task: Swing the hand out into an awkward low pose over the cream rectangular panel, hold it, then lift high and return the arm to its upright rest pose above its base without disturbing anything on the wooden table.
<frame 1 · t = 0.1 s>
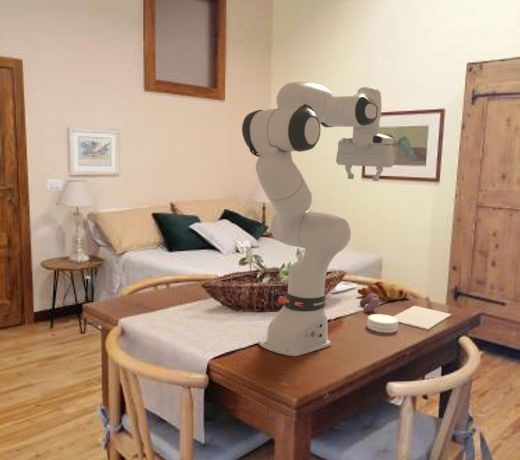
hand: (362, 179, 173), 48 cm above the table, tool pointing down, fingers open, 8 cm apart
croissant: (383, 298, 206), on the table
cream rectangular panel: (420, 317, 182), on the table
coaster: (382, 329, 170), on the table
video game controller: (369, 309, 190), on the table
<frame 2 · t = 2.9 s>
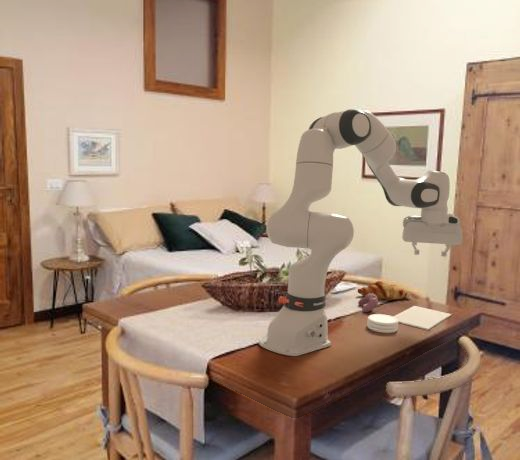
hand: (430, 255, 183), 22 cm above the table, tool pointing down, fingers open, 8 cm apart
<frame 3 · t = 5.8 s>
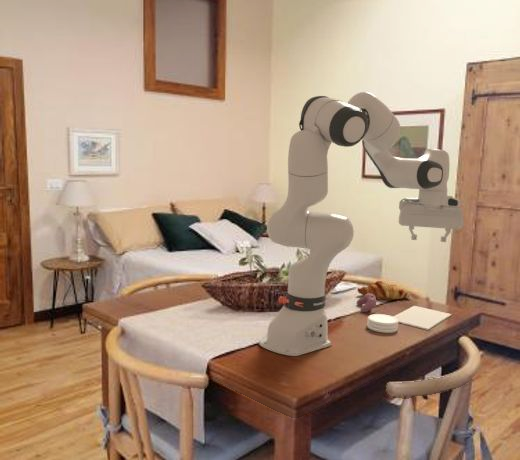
hand: (428, 240, 170), 29 cm above the table, tool pointing down, fingers open, 8 cm apart
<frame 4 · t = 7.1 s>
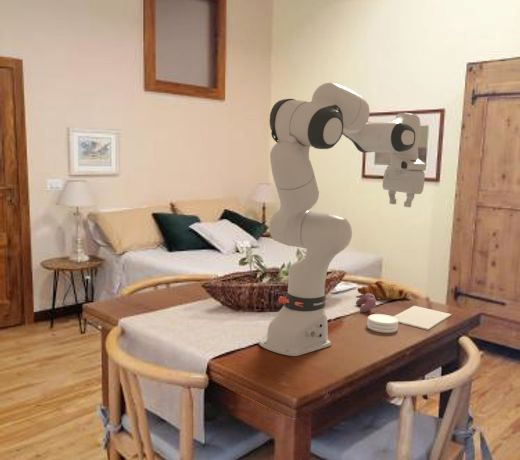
hand: (399, 205, 171), 40 cm above the table, tool pointing down, fingers open, 8 cm apart
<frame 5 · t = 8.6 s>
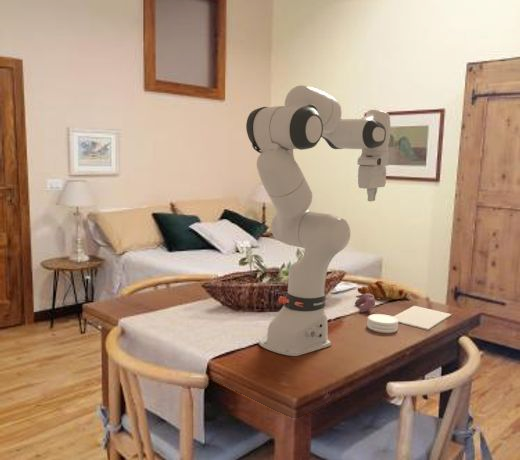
hand: (371, 201, 174), 41 cm above the table, tool pointing down, fingers closed
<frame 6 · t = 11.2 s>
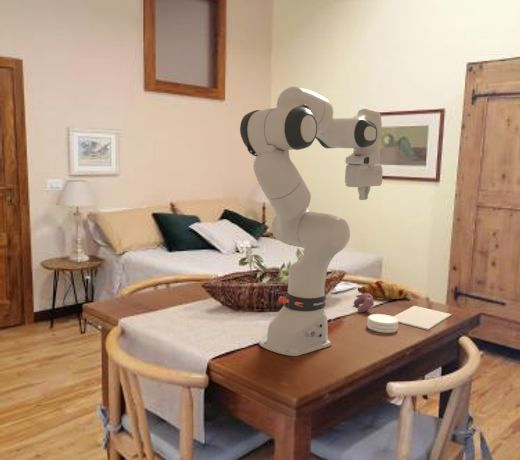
hand: (363, 199, 175), 41 cm above the table, tool pointing down, fingers closed
at the end: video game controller moved 2.4 cm from its start; croissant moved 1.4 cm from its start; coaster moved 0.5 cm from its start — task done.
